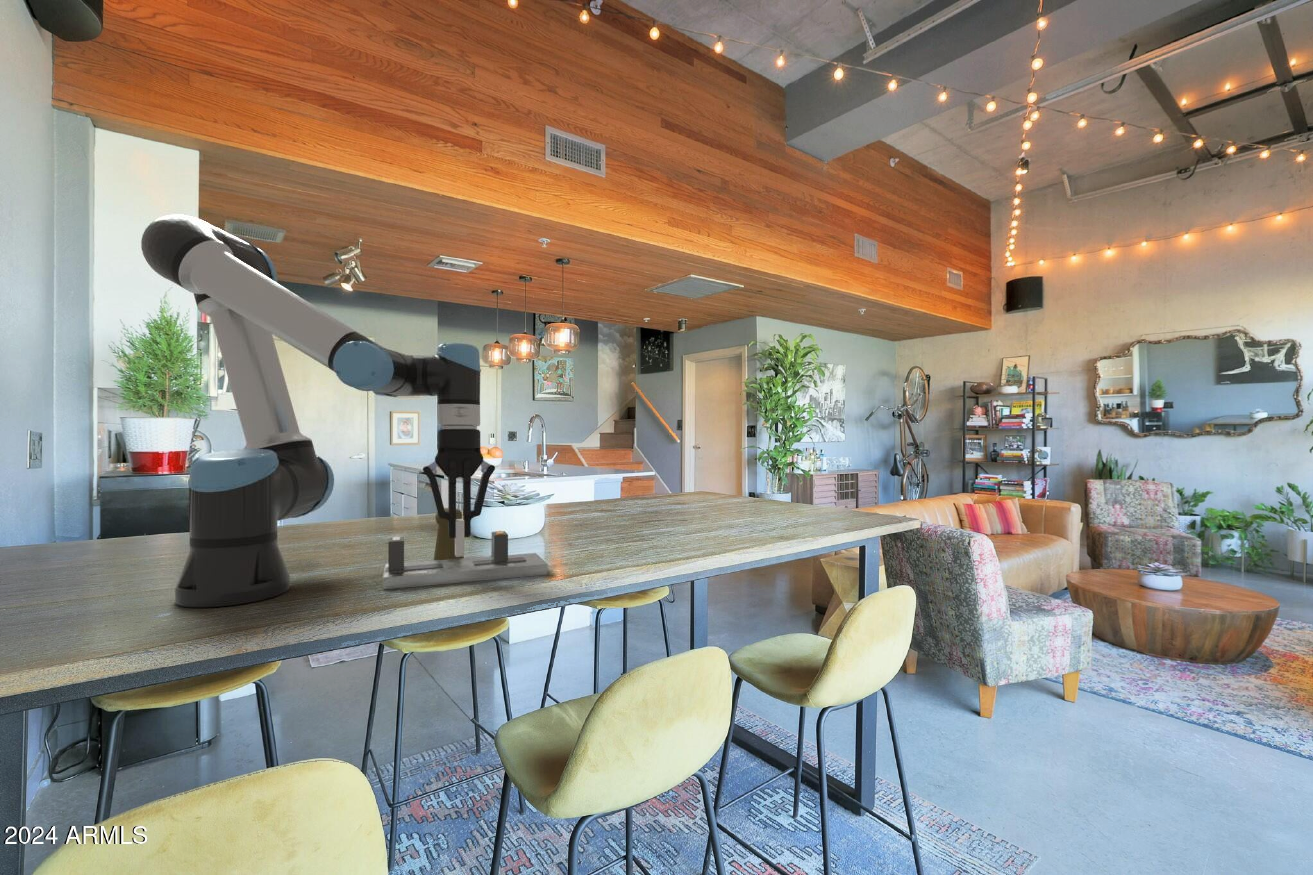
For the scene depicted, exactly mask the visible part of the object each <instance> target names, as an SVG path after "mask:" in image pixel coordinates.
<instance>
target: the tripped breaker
mask: <svg viewBox="0 0 1313 875" xmlns="http://www.w3.org/2000/svg"><path fill="white" fill-rule="evenodd" d="M490 549H491V558H492V559H493V561H494V562H502V561H508V555H509V534H508V533H507V532H506V531H505V530H504V531H503V530H496V531H491V548H490Z"/></svg>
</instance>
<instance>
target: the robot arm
mask: <svg viewBox="0 0 1313 875" xmlns="http://www.w3.org/2000/svg"><path fill="white" fill-rule="evenodd" d="M140 242H141V244H140V246H141V252H142V255H143V257H144V259H145V262H147V264H148V265H149V266H150V268H151V269H152V270H153V271H154V272H155V273H156V274H158V275H159V276H161V277H162V278H164V279H166V280H168V281H170V282H172V283H173V284H176V285H178V286H179V287H181V288H183V289H184V290H186V291H187V292H189V293H191V294H193V296H194V301H195V304H196V307H197V310H198V311H199V312H200V313H202V314H204V315H205V316H207V317H209V318H210V319H211V320H210V321H211V322H212V326H213V329H214V333H215V336H216V340H217V345H218V347H219V351H220V354H221V358H222V361H223V365H224V369H225V371H226V376H227V378H228V383H229V387H230V390H231V393H232V397H233V400H234V404H235V407H236V411H237V414H238V418H239V421H240V424H241V428H242V432H243V435H244V439H245V445H244V447H243V449H242V448H241V449H232V450H222V451H214V452H210V453H206V454H201V455H199V456H197V457H196V458H194V459H193V460H192V462H191V464H190V468H189V477H188V480H187V485H188V494H189V495H188V500H189V501H188V506H189V508H188V509H189V510H188V511H189V520H188V521H189V552H188V554H187V557H186V560H185V563H184V565H183V568H182V570H181V572H180V574H179V575H180V576H179V578H178V580H177V583H176V585H175V589H174V599H175V600H174V603H175V604H176V605H177V606H180V607H186V608H215V607H218V608H219V607H224V606H225V607H227V606H228V607H229V606H235V605H236V606H237V605H243V604H248V603H252V602H253V603H254V602H257V601H258V602H259V601H262V600H266V599H267V600H268V599H271V598H274V597H277V596H280V595H283V594H284V593H286V592H287V591H289V590H290V588H291V587H290V586H291V581H290V580H291V576H290V572H289V570H288V567H287V565H286V562H285V559H284V557H283V554H282V551H281V550H280V547H279V543H278V522H279V521H282V520H287V519H296V518H299V517H302V516H306V515H309V514H310V513H313V512H315V511H317V510H318V509H320V508H321V507H323V506H324V505H325V504H326V503H327V501H328V500H329V498H330V497H331V495H332V493H333V490H334V488H335V487H334V486H335V474H334V471H333V469H332V467H331V465H330V464H329V462H327V461H326V460H325V459H323V458H322V457H321V456H320V455H318V454H316V449H315V447H314V444H313V443H314V442H313V440H312V438H310V437H308V436H306V435H304V434H302V433H301V431H300V427H299V425H298V420H297V417H296V414H295V411H294V410H295V409H294V406H293V402H292V400H291V396H290V393H289V390H288V386H287V382H286V378H285V375H284V371H283V368H282V364H281V361H280V357H279V354H278V350H277V346H276V343H275V341H274V337H276V338H278V339H279V340H281V341H283V342H284V343H287V345H289V346H291V347H293V348H294V349H296V350H298V351H300V352H301V353H303V354H305V355H306V356H308V357H310V358H311V359H313V360H314V361H315V362H316V361H317V362H318V363H319V364H322V366H325V367H326V368H328V369H329V370H330V371H332V372H334V373H335V374H336V376H337V378H338V379H339V380H340V382H342V383H343V384H344V385H346V386H348V387H350V388H354V389H356V390H359V391H362V392H372V393H374V394H375V396H376V395H377V396H381V397H382V396H385V397H393V398H397V397H420V396H421V397H423V396H424V397H425V396H428V397H431V396H432V397H435V396H437V426H438V427H440V429H438V431H437V453H436V455H435V457H434V461H432V462H431V463H429V464H428V465H425V466H423V467H422V470H423V473H424V474H425V476H426V477H427V478H428V481H429V484H430V488H431V492H432V496H433V499H434V504H435V507H436V513H437V512H438V515H439V517H440V518H444V519H447V520H448V530H449V537H450V538H455V556H456V557H460V556H464V557H465V538H470V537H471V534H472V533H471V528H472V527H471V520H472V519H474V518H476V517H479V516H480V515H481V514H482V510H483V506H484V502H485V498H486V493H487V491H488V485H489V481H490V478H491V476H492V475H493V473H494V472H495V470H496V466H495V465H493V464H491V463H489V462H487V461H485V460H484V456H483V454H482V451H481V431H480V429H478V427H480V425H481V372H482V369H481V361H480V360H481V359H480V350H479V348H478V347H477V346H475V345H473V344H469V343H462V342H461V343H460V342H458V343H457V342H448V343H441V344H439V345H438V346H437V350H436V354H431V355H429V354H428V355H415V354H414V355H412V354H411V355H410V354H404V353H402V352H398V351H396V350H392V349H389V348H386V347H383V346H382V345H380V344H378V343H376V342H374V341H373V340H372V339H370V338H369V337H366V336H365V335H363V334H361V333H360V332H358V331H357V330H355V329H353V328H352V327H350V326H348V325H347V324H345V323H343V322H341V321H340V320H339V319H337V318H335V317H334V316H332V315H330V314H329V313H328V312H325V311H324V310H322V309H320V308H319V307H317V306H315V305H314V304H313V303H311V302H309V301H307V300H306V299H304V298H303V297H300V295H297V294H296V293H294V292H292V291H291V290H290V289H288V288H286V287H285V286H283V285H281V284H279V283H278V281H277V280H278V276H277V275H278V274H277V271H276V270H277V269H276V267H275V266H274V263H273V260H272V259H271V258H270V257H269V256H268V255H267V254H266V253H265V251H263V250H261V249H260V248H259V247H257V246H256V245H255V244H253V243H252V242H250V241H248V240H247V239H244V238H241V237H239V236H235V235H233V234H230V233H228V232H226V231H224V230H222V229H221V228H219V227H216V226H214V225H212V224H210V223H209V222H206V221H204V220H202V219H200V218H197V217H194V216H189V215H184V214H170V215H164V216H162V217H158V218H156V219H155V220H153V221H152V222H151V223H149V225H148V226H147V227H146V228H145V229H144V231H143V234H142V237H141V240H140ZM273 336H274V337H273ZM480 466H481V468H480V471H481V473H482V474H481V477H480V481H479V485H478V489H477V494H476V497H475V500H474V504H473V509H471V508H472V501H471V500H472V499H471V498H472V497H471V496H472V494H471V492H472V491H471V490H472V486H471V484H472V477H473V476H474V475H475V473H476V472H477V470H478V469H479V467H480ZM437 468H440V470H441V472H442V473H443V474H444V475H445V476H446V477H447V482H448V484H447V486H448V487H447V490H448V495H447V496H448V498H447V500H448V501H447V502H448V503H447V506H448V507H447V508H448V512H447V511H445V510H444V508H445V507H444V502H443V499H442V495H441V491H440V487H439V483H438V480H437V477H436V475H437V473H438V469H437ZM458 478H462V519H456V509H457V479H458Z"/></svg>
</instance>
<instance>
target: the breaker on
mask: <svg viewBox="0 0 1313 875" xmlns="http://www.w3.org/2000/svg"><path fill="white" fill-rule="evenodd" d="M387 548H388V552H387V554H388V559H387V560H388V562H387V564H388V571H389V570H401V569H404V563H405V537H403V536H402V537H401V536H393V537H389V538H388V546H387Z"/></svg>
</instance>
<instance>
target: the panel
mask: <svg viewBox="0 0 1313 875" xmlns="http://www.w3.org/2000/svg"><path fill="white" fill-rule="evenodd" d="M548 567H549V565H548V563H547V562H546V561H545V560H544V559H543V558H542V557H541V556H539V554H538V553H537V552H531V553H520V554H519V553H518V554H508V561H502V562H494V561H493V559H492V558H491V556H479V557H477V556H475V557H464V558H463V559H449V560H436V561H434V560H425V561H411V562H404V569H401V570H389V571H388V563H385V564H384V567H383V568H384V570H383V575H382V590H392V589H394V590H395V589H405V588H413V587H424V586H425V587H427V586H437V585H448V584H459V583H469V582H481V581H492V580H493V581H494V580H501V579H513V578H526V577H537V576H545V575H549V574H548V572H549V571H548V569H549V568H548Z"/></svg>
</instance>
